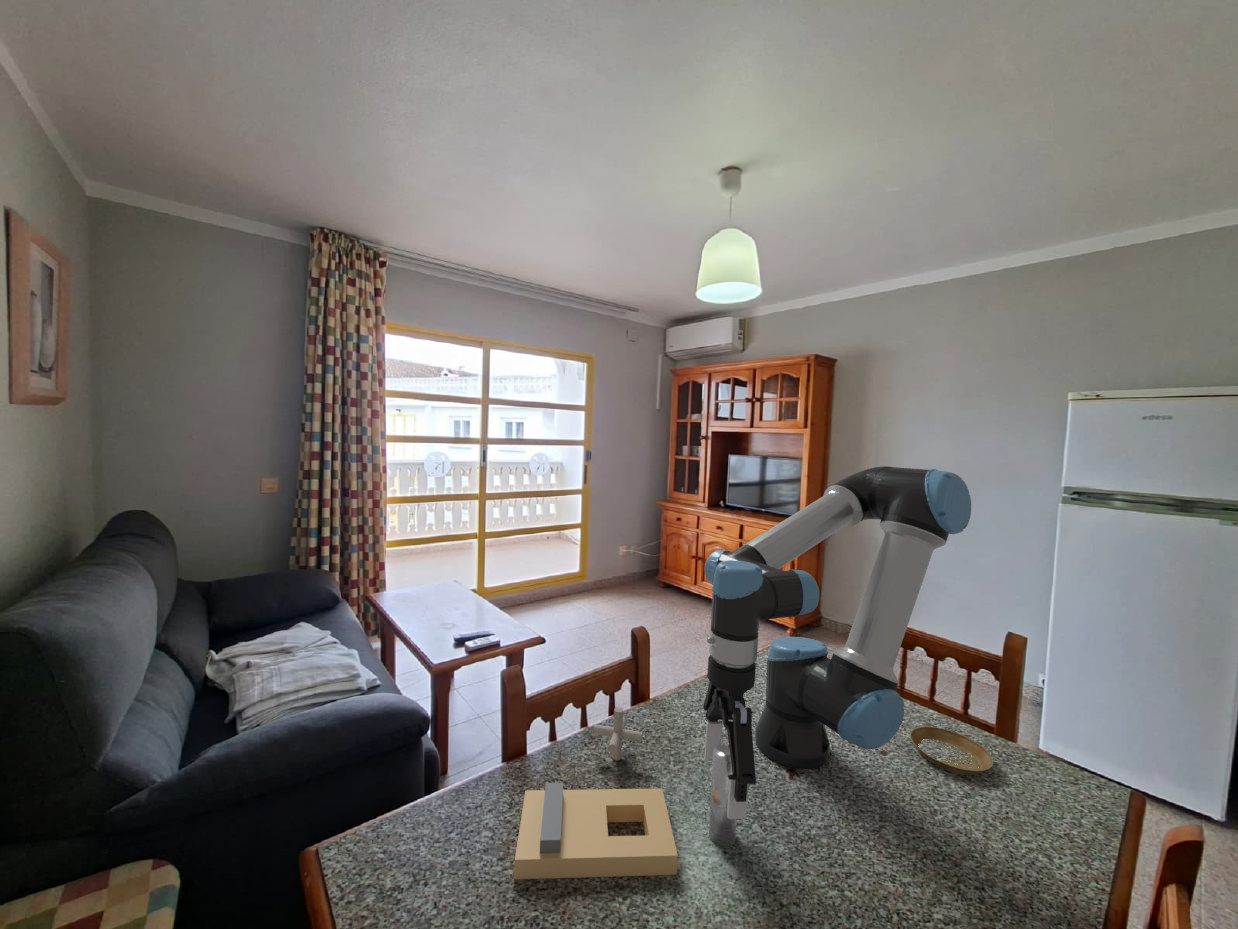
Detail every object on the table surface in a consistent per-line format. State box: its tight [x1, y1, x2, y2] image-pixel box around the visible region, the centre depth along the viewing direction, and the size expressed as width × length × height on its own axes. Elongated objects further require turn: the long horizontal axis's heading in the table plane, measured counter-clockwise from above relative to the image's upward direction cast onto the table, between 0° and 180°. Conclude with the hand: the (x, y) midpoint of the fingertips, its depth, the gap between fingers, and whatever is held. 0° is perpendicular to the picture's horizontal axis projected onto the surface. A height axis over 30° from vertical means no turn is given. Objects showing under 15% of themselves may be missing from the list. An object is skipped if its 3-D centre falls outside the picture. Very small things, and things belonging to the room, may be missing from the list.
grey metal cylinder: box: [708, 744, 738, 847], centre depth 81 cm, size 4×4×14 cm
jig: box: [513, 782, 679, 880], centre depth 79 cm, size 24×14×5 cm, turn 95°
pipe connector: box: [592, 706, 644, 761], centre depth 99 cm, size 10×10×10 cm
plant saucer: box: [909, 725, 995, 776], centre depth 104 cm, size 15×15×3 cm
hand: (723, 785), depth 80 cm, fingers open, 13 cm apart
